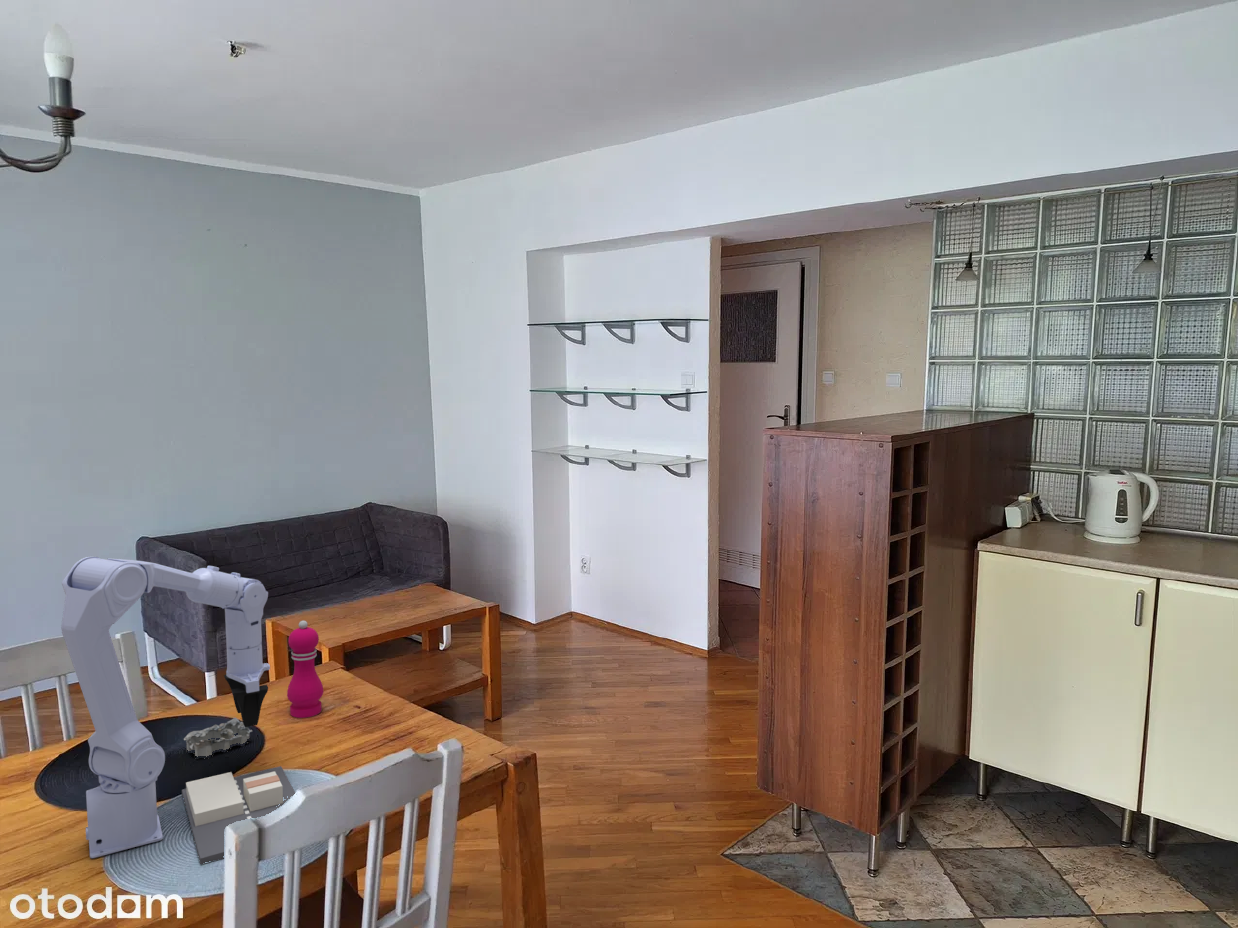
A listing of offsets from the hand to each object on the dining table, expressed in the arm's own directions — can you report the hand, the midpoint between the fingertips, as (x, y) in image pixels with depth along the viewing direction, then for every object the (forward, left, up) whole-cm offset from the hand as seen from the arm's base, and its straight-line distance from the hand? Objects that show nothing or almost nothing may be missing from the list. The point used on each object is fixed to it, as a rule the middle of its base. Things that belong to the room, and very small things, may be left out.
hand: (247, 718), depth 148 cm
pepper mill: (+15, +23, -11) cm, 29 cm away
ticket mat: (-3, -14, -10) cm, 18 cm away
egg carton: (-3, +15, -11) cm, 19 cm away
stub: (0, -13, -9) cm, 16 cm away
